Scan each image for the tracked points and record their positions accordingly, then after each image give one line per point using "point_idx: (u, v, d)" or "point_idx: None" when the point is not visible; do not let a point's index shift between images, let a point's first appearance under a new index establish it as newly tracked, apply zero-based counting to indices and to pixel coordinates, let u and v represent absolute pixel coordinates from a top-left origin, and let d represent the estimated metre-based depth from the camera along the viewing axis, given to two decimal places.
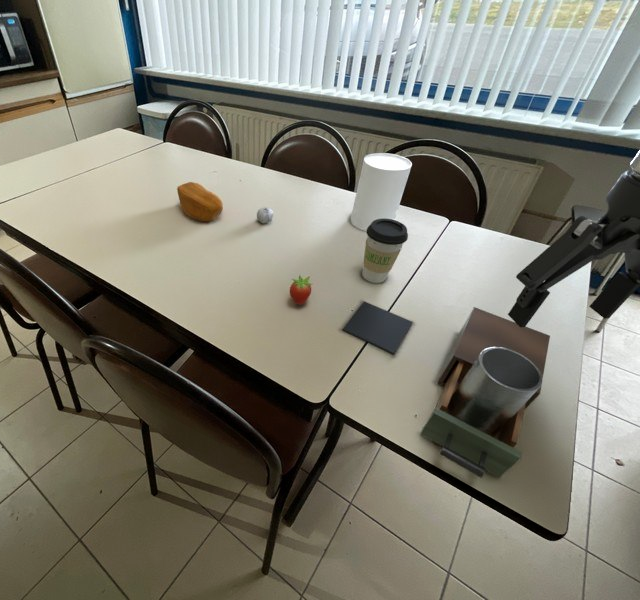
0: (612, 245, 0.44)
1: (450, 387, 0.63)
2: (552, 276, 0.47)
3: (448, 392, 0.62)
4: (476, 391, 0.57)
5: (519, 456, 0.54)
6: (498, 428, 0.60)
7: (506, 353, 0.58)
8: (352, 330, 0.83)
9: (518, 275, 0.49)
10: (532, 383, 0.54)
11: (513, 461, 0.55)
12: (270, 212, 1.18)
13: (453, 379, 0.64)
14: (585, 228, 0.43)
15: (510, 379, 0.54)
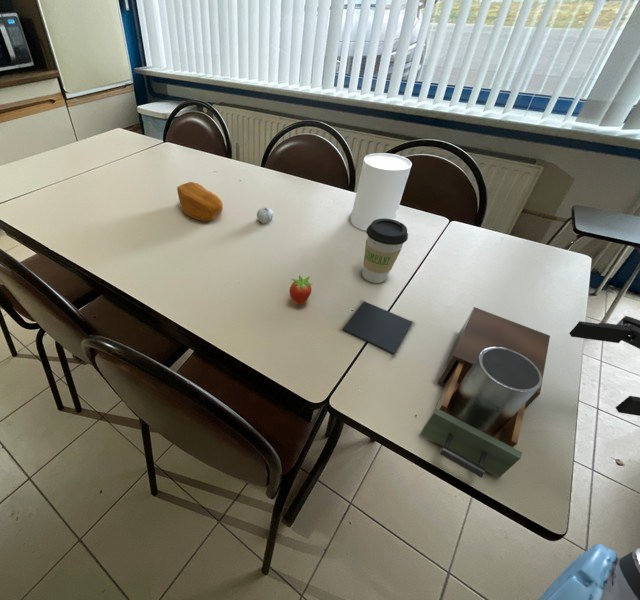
0: None
1: (450, 387, 0.63)
2: None
3: (448, 392, 0.62)
4: (476, 391, 0.57)
5: (519, 456, 0.54)
6: (498, 428, 0.60)
7: (506, 353, 0.58)
8: (352, 330, 0.83)
9: None
10: (532, 383, 0.54)
11: (513, 461, 0.55)
12: (270, 212, 1.18)
13: (453, 379, 0.64)
14: None
15: (510, 379, 0.54)
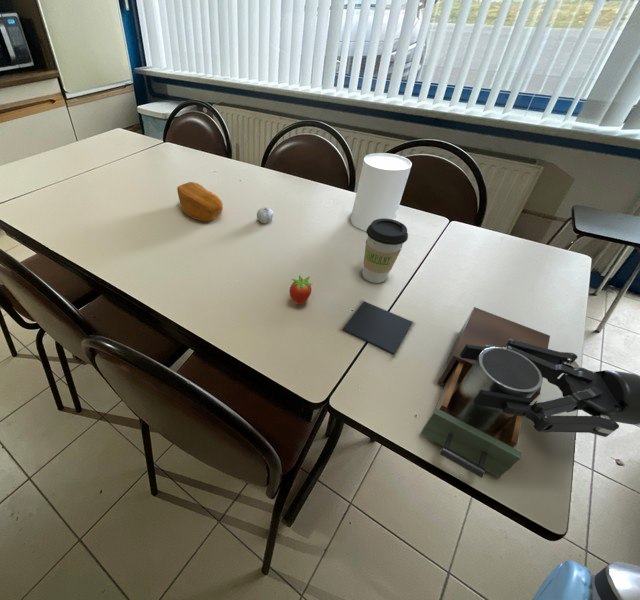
0: (573, 369, 0.57)
1: (450, 387, 0.63)
2: None
3: (448, 392, 0.62)
4: (476, 391, 0.57)
5: (519, 456, 0.54)
6: (498, 428, 0.60)
7: (506, 353, 0.58)
8: (352, 330, 0.83)
9: (505, 347, 0.63)
10: (532, 383, 0.54)
11: (513, 461, 0.55)
12: (270, 212, 1.18)
13: (453, 379, 0.64)
14: None
15: (510, 379, 0.54)
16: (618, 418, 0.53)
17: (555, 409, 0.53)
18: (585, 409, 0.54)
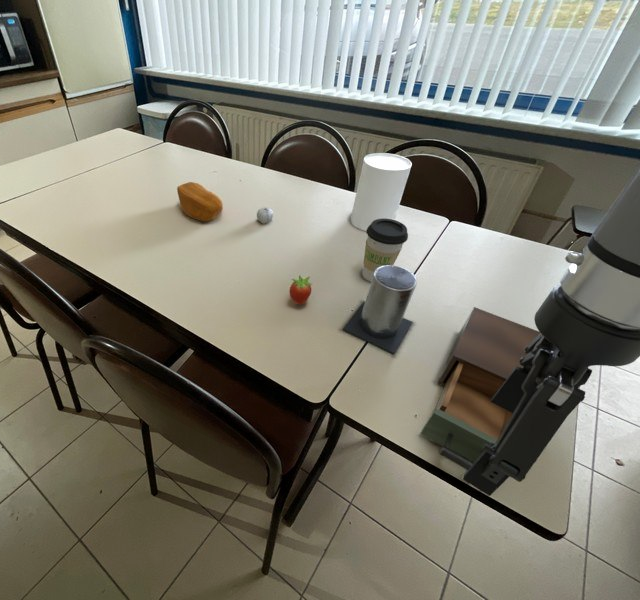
0: None
1: (450, 387, 0.63)
2: None
3: (448, 392, 0.62)
4: (376, 300, 0.76)
5: None
6: (396, 326, 0.79)
7: (391, 268, 0.77)
8: (352, 330, 0.83)
9: (494, 463, 0.33)
10: (410, 284, 0.73)
11: None
12: (270, 212, 1.18)
13: (453, 379, 0.64)
14: (567, 397, 0.30)
15: (396, 284, 0.73)
16: None
17: None
18: None
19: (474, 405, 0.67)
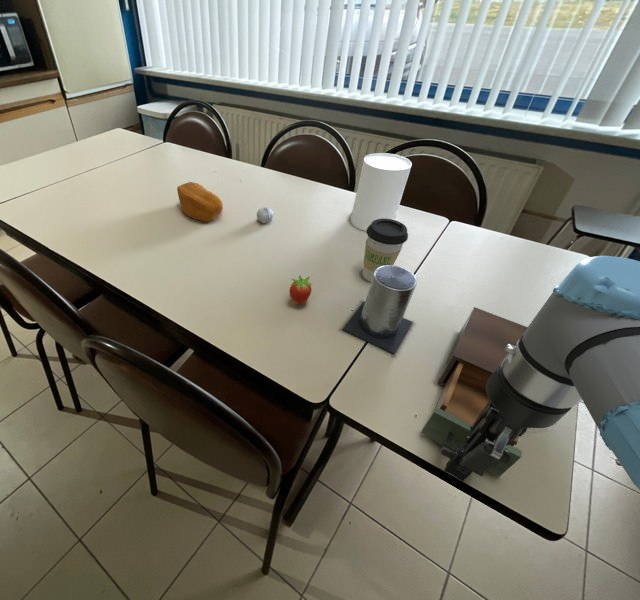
0: None
1: (450, 386, 0.63)
2: None
3: (448, 391, 0.62)
4: (376, 300, 0.76)
5: (519, 455, 0.54)
6: (396, 326, 0.79)
7: (391, 268, 0.77)
8: (352, 330, 0.83)
9: (462, 465, 0.50)
10: (410, 284, 0.73)
11: (513, 460, 0.55)
12: (270, 212, 1.18)
13: (453, 378, 0.65)
14: (497, 459, 0.43)
15: (396, 284, 0.73)
16: None
17: None
18: None
19: (474, 404, 0.67)
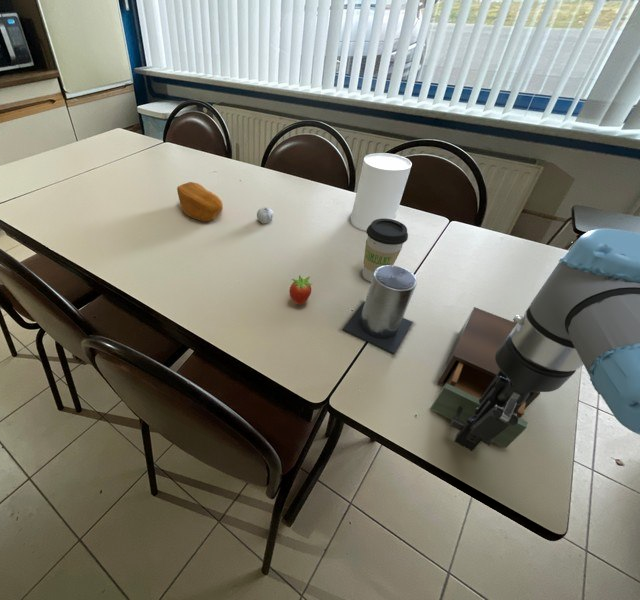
0: (521, 404, 0.48)
1: (459, 364, 0.67)
2: None
3: (457, 369, 0.66)
4: (376, 300, 0.76)
5: (525, 425, 0.58)
6: (396, 326, 0.79)
7: (391, 268, 0.77)
8: (352, 330, 0.83)
9: (472, 432, 0.54)
10: (410, 284, 0.73)
11: (519, 430, 0.58)
12: (270, 212, 1.18)
13: None
14: (506, 422, 0.46)
15: (396, 284, 0.73)
16: None
17: None
18: None
19: (481, 383, 0.70)
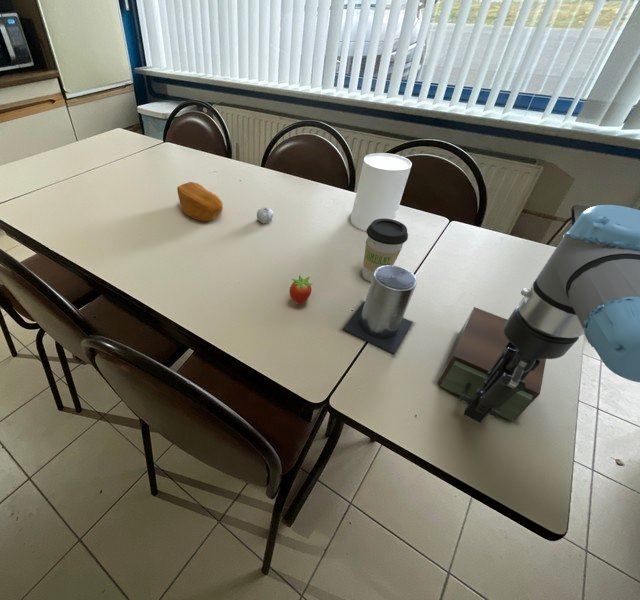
0: (527, 373, 0.52)
1: None
2: None
3: None
4: (376, 300, 0.76)
5: (530, 398, 0.61)
6: (396, 326, 0.79)
7: (391, 268, 0.77)
8: (352, 330, 0.83)
9: (481, 402, 0.57)
10: (410, 284, 0.73)
11: (525, 403, 0.62)
12: (270, 212, 1.18)
13: None
14: (514, 388, 0.50)
15: (396, 284, 0.73)
16: None
17: None
18: None
19: None
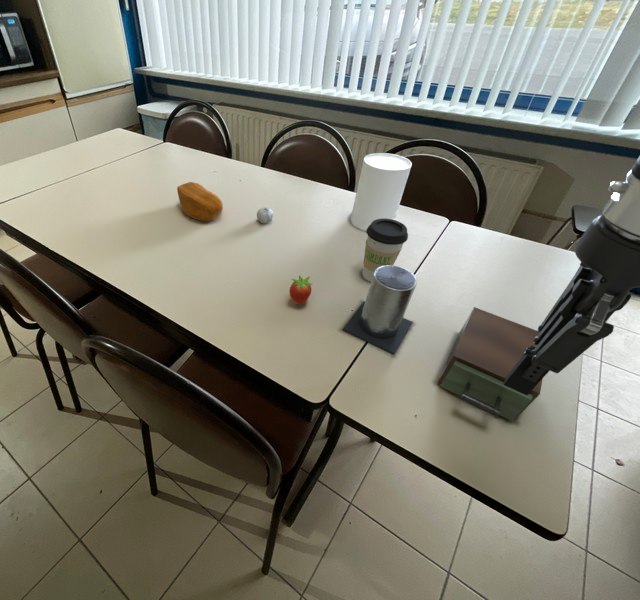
0: (609, 315, 0.36)
1: None
2: None
3: None
4: (376, 300, 0.76)
5: (530, 398, 0.61)
6: (396, 326, 0.79)
7: (391, 268, 0.77)
8: (352, 330, 0.83)
9: (534, 363, 0.41)
10: (410, 284, 0.73)
11: (525, 403, 0.62)
12: (270, 212, 1.18)
13: None
14: (595, 333, 0.34)
15: (396, 284, 0.73)
16: None
17: None
18: None
19: None
